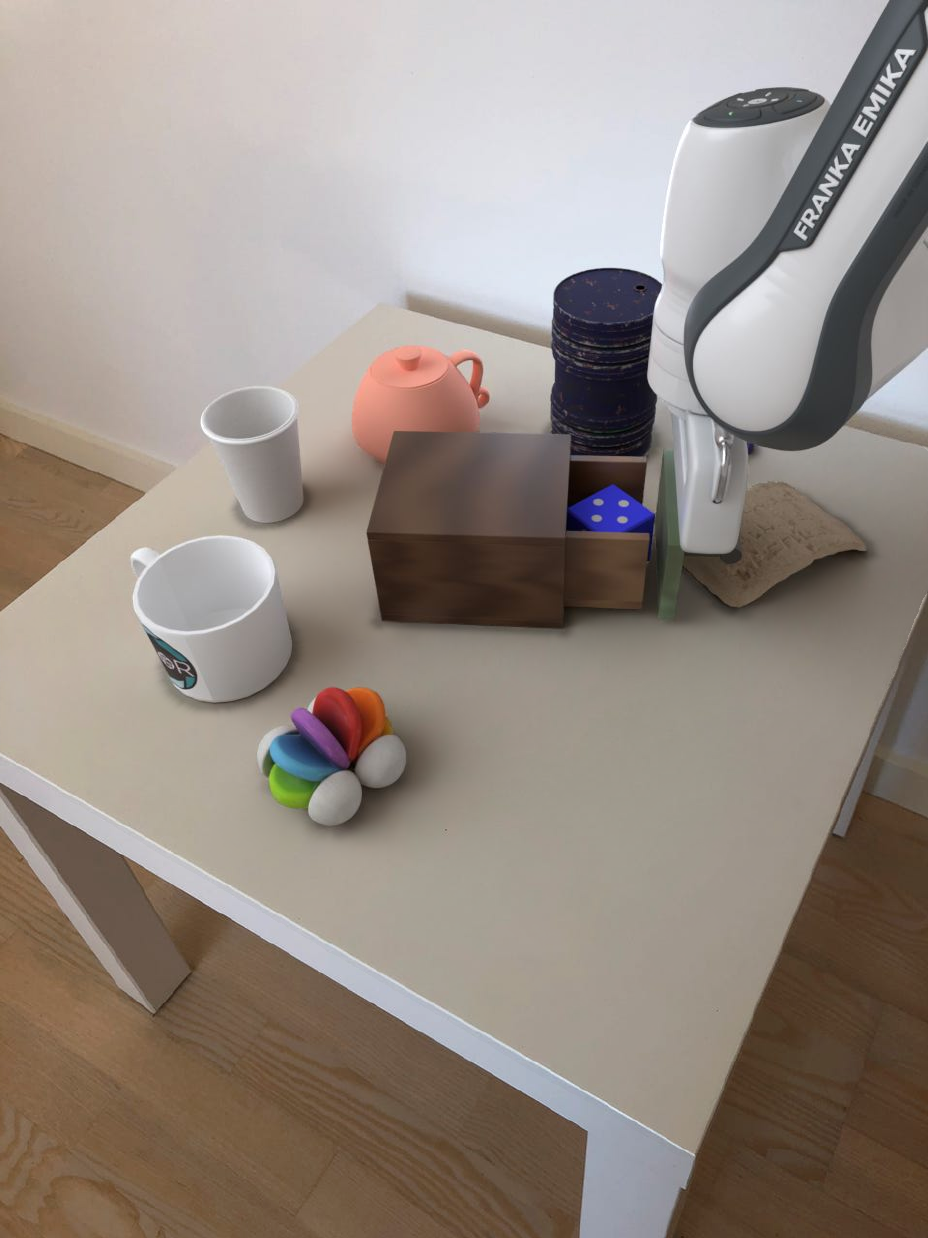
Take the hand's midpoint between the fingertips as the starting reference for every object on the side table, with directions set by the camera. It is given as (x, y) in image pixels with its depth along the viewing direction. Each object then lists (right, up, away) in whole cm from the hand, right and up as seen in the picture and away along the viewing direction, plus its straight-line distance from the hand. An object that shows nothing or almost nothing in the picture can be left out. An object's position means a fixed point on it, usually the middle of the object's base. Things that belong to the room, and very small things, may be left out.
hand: (690, 515), depth 73 cm
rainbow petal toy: (-27, -19, -6) cm, 33 cm away
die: (-6, -3, +4) cm, 8 cm away
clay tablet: (+8, -2, +7) cm, 11 cm away
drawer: (-5, -4, +5) cm, 8 cm away
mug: (-37, -10, +2) cm, 39 cm away
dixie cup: (-35, +3, +15) cm, 38 cm away
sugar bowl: (-21, +9, +20) cm, 31 cm away
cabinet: (-16, -4, +7) cm, 18 cm away
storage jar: (-4, +9, +19) cm, 21 cm away
